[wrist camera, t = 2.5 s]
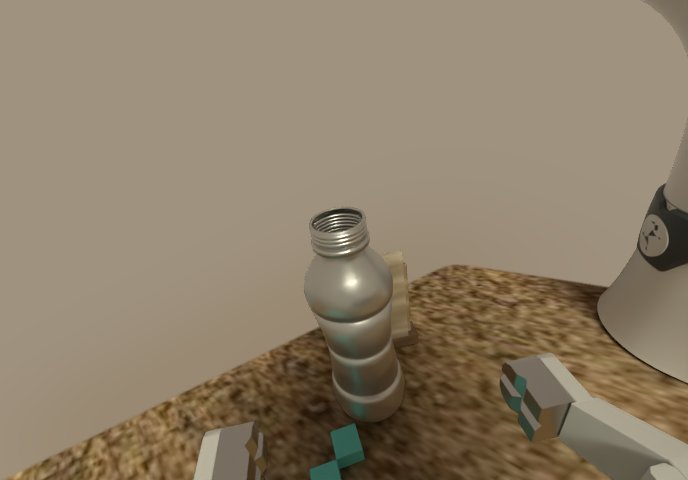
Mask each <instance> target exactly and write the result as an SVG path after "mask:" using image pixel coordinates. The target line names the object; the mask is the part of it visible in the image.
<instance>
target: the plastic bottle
mask: <svg viewBox="0 0 688 480" xmlns="http://www.w3.org/2000/svg"><path fill="white" fill-rule="evenodd" d="M309 226H310V227H309V228H310V232H311V237H312V240H311V244H312V248H313V251H314V252H315V253H316V256H315V257H314V259H313V260H312V262H311V264H310V266H309V268H308V270H307V273H306V276H305V288H304V293H305V296H306V299H307V301H308V304H309V306H310V308H311V310H312V312H313V314H314V316H315V318H316V319H317V322H318V324H319V326H320V327H321V329H322V332H323V334H324V337H325V340H326V343H327V345H328V348H329V351H330V357H331V363H332V369H333V370H332V381H333V391H334V394H335V397H336V399H337V401H338V403H339V404H340V406H341V407H342V409H343V410H344V411H345V412H346V413H347V414H348V415H349V416H350V417H352V418H354V419H356V420H358V421H362V422H369V423H373V422H379V421H382V420H385V419H387V418H388V417H390V416H392V415H393V414H394V413H395V412H396V411H397V409H398V408H399V407H400V405H401V402H402V399H403V394H404V389H405V379H404V375H403V372H402V369H401V366H400V364H399V362H398V360H397V357H396V353H395V349H394V345H393V341H392V326H391V312H392V299H393V277H392V274H391V271H390V269H389V267H388V265H387V264H386V262H385V261H384V259H383V258H382V257H381V256H380V255H379V254H378V253H377V252H375V251H374V250H373V249H372V248H370V247H369V246H368V244H369V241H370V237H369V232H368V230H367V226H366V218H365V215H364V213H363V212H362V211H361V210H359V209H356V208H352V207H337V208H332V209H328V210H325V211H322V212H320V213H318V214H317V215H315V216H314V217H313V218H312V219H311V220H310V223H309Z"/></svg>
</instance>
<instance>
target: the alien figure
mask: <svg viewBox="0 0 688 480" xmlns="http://www.w3.org/2000/svg"><path fill="white" fill-rule="evenodd" d="M330 433H331V438H332V442H333V447H334V451H335V456H336V460H333V461H330V462H328V463H325V464H322V465H320V466H317V467H314V468H312V469H309V471H310V478H311V480H342V477H341V473H340V469H342V468H344V467H347V466H350V465H352V464H355V463H357V462H360V461H363V460H365V457H364V453H363V449H362V446H361V442H360V439H359V436H358V432H357V429H356V425H355V423H354V424H351V425H348V426H345V427H342V428H340V429H337V430H334V431H331V432H330Z"/></svg>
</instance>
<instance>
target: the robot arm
mask: <svg viewBox="0 0 688 480" xmlns="http://www.w3.org/2000/svg"><path fill="white" fill-rule="evenodd" d="M642 1H644V2H645V3H647V4H648V5H650V6H651V7H652V8H654V9H655V10H656V11H658V12H659V13H660V14H661V15H662V16H663V17H664V18H665V19H666V20H667V21H668V22H669V23H670V25H671V26H672V27H673V28H674V30H675V31H676V33H677V34H678V36H679V38H680V40H681V41H682V43H683V46H684V48H685V50H686V53H687V56H688V0H642ZM597 310H598V315H599V318H600V320H601V322H602V324H603V325H604V327H605V328H606V330H607V331H608V332H609V333H610V334H611V336H612V337H613V338H614V339H615V340H616V341H617V342H618V343H620V344H621V345H622V346H623V347H624V348H625V349H627V350H628V351H629V352H631V353H632V354H633V355H635V356H636V357H638V358H639V359H641V360H642V361H644V362H646V363H647V364H649V365H651V366H653V367H654V368H656V369H658V370H660V371H662V372H664V373H666V374H668V375H670V376H673V377H675V378H677V379H679V380H682V381H684V382H686V383H688V119H687V123H686V127H685V131H684V134H683V137H682V140H681V144H680V147H679V150H678V153H677V156H676V159H675V162H674V164H673V167H672V170H671V172H670V175H669V178H668V180H667V183H665V184H664V185H662V186H661V187H659V188H658V190H657V191H656V194H655V196H654V198H653V200H652V202H651V205H650V207H649V210H648V212H647V214H646V217H645V220H644V222H643V225H642V228H641V231H640V234H639V238H638V243H637V248H636V250H635V252H634V253H633V255H632V257H631V258H630V260H629V262H628V263H627V265H626V267H625V268H624V269H623V271H622V272H621V274H620V275H619V276H618V278H617V279H616V280H615V281H614V282H613V284H612V285H611V286H610V287H609V288H608V289H607V290H606V291H605V292H604V293H603V294H602V295H601V296H600V298H599V300H598V304H597ZM502 371H503V372H504V375H503V376H502V377H501V378H500V388H501V393H502V395H503V397H504V399H505V401H506V403H507V404H508V406H509V408H511V409H512V410H514V411H516V412H517V413H518V422H519V424H520V425H521V427H522V428H523V430H524V432H525V433H526V435H527V436H528V438H529V439H530V441H531V443H532V442H537V441H541V440H546V439H551V438H555V437H558V439H559V440H561V441H562V442H563V443H565V444H566V445H567V446H569V447H570V448H571V449H573V450H574V451H575V452H576V453H578V454H579V455H580V456H582V457H583V458H584V459H586V460H587V461H588V462H590V463H591V464H592V465H594V466H595V467H596V468H598V469H599V470H600V471H602V472H603V473H604V474H606V475H607V476H608V477H610V478H611V479H612V480H688V445H687V444H685V443H683V442H681V441H679V440H678V439H676V438H674V437H672V436H670V435H668V434H666V433H664V432H662V431H661V430H659V429H657V428H655V427H653V426H651V425H649V424H647V423H645V422H644V421H642V420H640V419H638V418H636V417H634V416H632V415H630V414H628V413H627V412H625V411H623V410H621V409H619V408H617V407H615V406H613V405H611V404H610V403H608V402H606V401H604V400H602V399H600V398H598V397H595V398H592V397H591V395H590V394H589V393H588V392H587V391H586V390H585V389H584V388H583V387H582V385H581V384H580V383H579V382H578V381H577V380H576V379H575V378H574V377H573V375H572V374H571V373H570V372H569V371H568V370H567V369H566V368H565V367H564V365H563V364H562V363H561V362H560V361H559V360H558V359H557V358H556V357H555V355H553V354H551V353H543V354H539V355H534V356H529V357H525V358H521V359H517V360H513V361H509V362H505V363H504V364H503V366H502ZM267 466H268V449H267V442H266V438H265V436H264V434H263V433H261V432H259V424H258V423H257V421H256V420H255V421H251V422H247V423H243V424H238V425H234V426H230V427H224V428H219V429H215V430H211V431H207V432H206V433H205V435H204V437H203V440H202V444H201V449H200V453H199V457H198V462H197V466H196V471H195V475H194V479H193V480H265V478H264V476H263V475H262V474H263V473H264V471H265V469H266V467H267Z"/></svg>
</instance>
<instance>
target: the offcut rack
mask: <svg viewBox="0 0 688 480" xmlns="http://www.w3.org/2000/svg"><path fill="white" fill-rule="evenodd" d="M380 256H381V257H382V258H383V259H384V261H385V262H386V264H387V265H388V267H389V269H390V271H391V274H392V277H393V299H392V312H391V326H392V341H393V345H394V349H395V348H399V347H404V346H408V345H412V344H417V343H418V336H417V332H416V330H415V328H414V326H413V323H412V321H410V310H409V294H408V281H407V280H408V279H407V266H406V264H405V263H403V255H402V252H401V251H395V252H391V253H386V254H382V255H380Z"/></svg>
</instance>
